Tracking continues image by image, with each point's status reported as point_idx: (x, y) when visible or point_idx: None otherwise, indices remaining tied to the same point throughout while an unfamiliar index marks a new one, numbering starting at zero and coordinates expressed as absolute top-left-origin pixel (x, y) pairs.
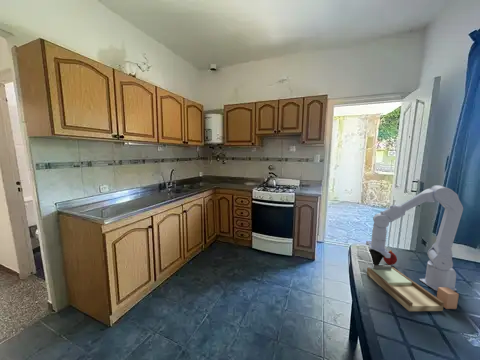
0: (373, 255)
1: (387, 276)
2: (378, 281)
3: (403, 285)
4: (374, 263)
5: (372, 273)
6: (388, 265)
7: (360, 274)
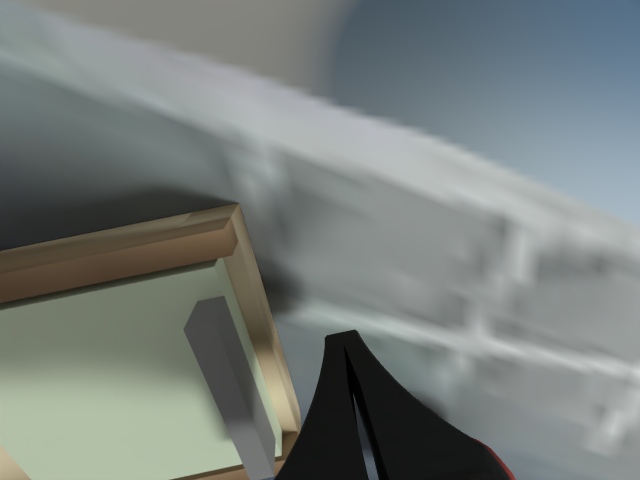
0: (347, 435)
1: (68, 370)
2: (34, 252)
3: None
4: (325, 348)
5: (121, 243)
6: (263, 463)
7: (207, 126)
